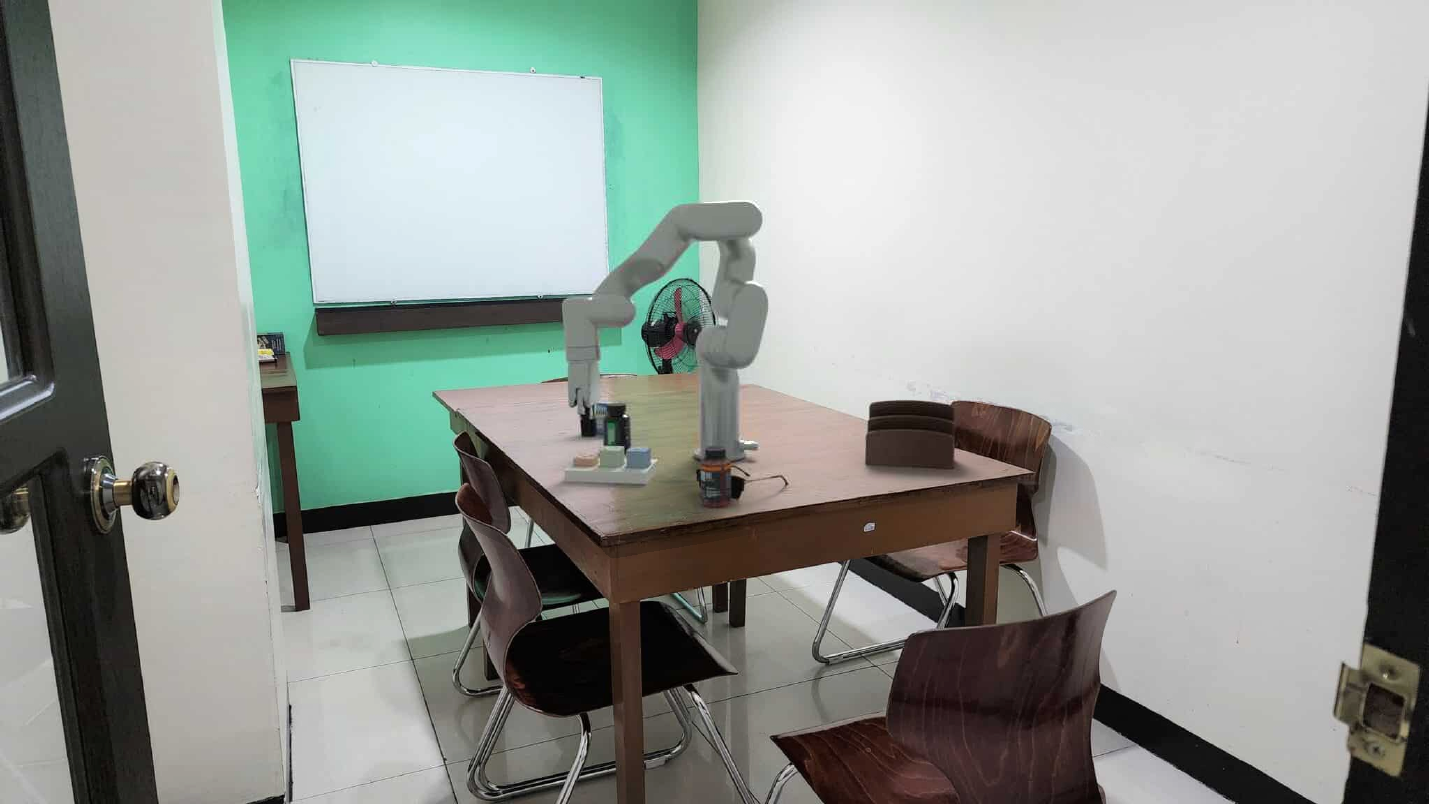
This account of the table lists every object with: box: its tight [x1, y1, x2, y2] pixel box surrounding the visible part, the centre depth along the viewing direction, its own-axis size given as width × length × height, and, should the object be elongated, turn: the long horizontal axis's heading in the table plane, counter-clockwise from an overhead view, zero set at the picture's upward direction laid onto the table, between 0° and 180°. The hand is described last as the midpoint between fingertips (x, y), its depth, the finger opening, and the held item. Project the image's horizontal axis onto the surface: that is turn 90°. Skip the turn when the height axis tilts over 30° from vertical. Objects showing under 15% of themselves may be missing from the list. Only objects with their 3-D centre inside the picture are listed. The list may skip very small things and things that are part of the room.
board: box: [564, 457, 659, 485], centre depth 191 cm, size 18×12×2 cm, turn 81°
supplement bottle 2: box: [700, 446, 733, 509], centre depth 168 cm, size 6×6×11 cm
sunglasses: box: [694, 464, 789, 500], centre depth 181 cm, size 14×16×5 cm
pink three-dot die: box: [572, 453, 599, 467], centre depth 192 cm, size 4×4×4 cm
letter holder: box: [864, 399, 956, 470], centre depth 200 cm, size 10×20×14 cm, turn 75°
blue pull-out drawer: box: [625, 446, 652, 469], centre depth 190 cm, size 4×4×4 cm
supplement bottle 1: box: [602, 402, 632, 455], centre depth 213 cm, size 7×7×12 cm
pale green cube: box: [599, 446, 625, 468], centre depth 190 cm, size 4×4×4 cm
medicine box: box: [594, 400, 623, 435], centre depth 236 cm, size 8×4×9 cm, turn 73°
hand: (589, 436), depth 191 cm, fingers closed
